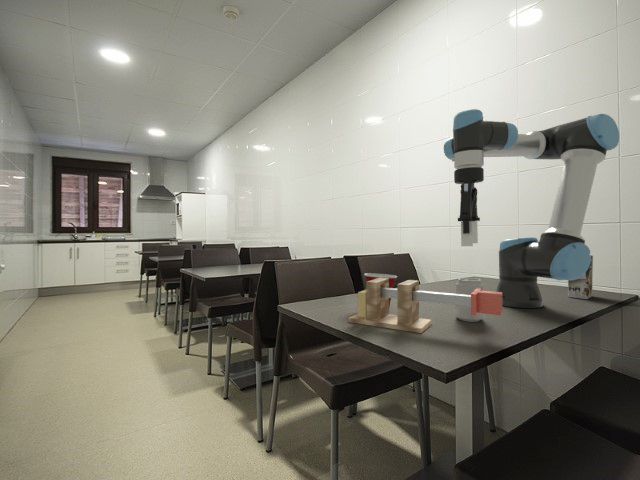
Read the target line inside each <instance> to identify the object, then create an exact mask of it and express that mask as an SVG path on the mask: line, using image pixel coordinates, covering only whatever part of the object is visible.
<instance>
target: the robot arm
mask: <svg viewBox="0 0 640 480" xmlns="http://www.w3.org/2000/svg"><path fill="white" fill-rule="evenodd" d="M452 123H453V125H452V133H453V136H451V137H450V138H448V139H446V141H445V142H444V145H443V153H444V156H445V157H446V158H447V159H449V160H450V161H451V162H453V166H454V167H453V168H454V169H455V170H454V171H453V174H454V175H453V176H454V177H453V178H454V179H453V180H454V184H456V185H460V204H459V205H460V207H459V208H460V209H459V217H457V222H460V242H461V243H460V244H461V247H473V245H474V244H478V243H479V238H478V237H479V234H478V222H480V221H481V217H479V215H478V204H477V203H478V189H477V187H475V184H478V183H483V182H484V180H485V179H484V178H485V177H484V176H485V175H484V171H485V170H484V168H483V166H484V165H485V164H484V163H485V162H484V158H501V157H502V158H508V157H509V158H510V157H512V158H513V157H520V158H521V157H524V159H528V160H562V161H563V162H564V164H563V167H562V170H561V171H562V172H561V175H560V180H559V184H558V189H557V192H556V196H555V200H554V203H553V209H552V212H551V216H550V220H549V225H548V228H547V230H545V231H544V232H542V233H541V234H540V238H539V240H538V238H537V237H521V238H520V237H519V238H510V239H509V238H508V239H503V240H502V241H500V243H499V250H498V261H499V262H498V273H499V274H498V278H499V279H498V283H497V286H496V289H495V291H494V292H503V293H502V307H512V308H517V309H519V308H521V309H539V308H542V307H543V306H544V299H543V296H542V293H541V290H540V287H539V285H538V278H544V279H553V280H557V281H568V280H576V279H578V278H579V277H581V276H583V275H584V274H585V273H586V271H587V270H588V268H589V265H590V262H591V256H592V255H591V250H590V248H589V246H588V245H586V240H585V238H584V237H583V236H582V235H581V233H582V230H583V226H584V221H585V216H586V213H587V209H588V204H589V201H590V196H591V193H592V187H593V184H594V180H595V175H596V172H597V167H598V164H601V163H602V162H603V161H604V160H605V159H606V155H607V151H612V150H614V149H615V148H617V147H618V145H619V142H620V131H619V128H618V125H617V122H616V121H615V120H614V118H613V117H611V115H609V114H606V113H599V114H594V115H589V116H587V117H584V118H581V119H576V120H574V121H570V122H567V123H566V122H565V123H563V124H562V123H561V124H559V125H556V126H552V127H549V128H547V129H542V130H534V131H529V132H528V133H519V130H518V127H517V126H516V125H515V124H513V123H510V122H506V121H494V120H487V119H484V115H483V112H482V111H481V110H480V109H478V108H477V109H476V108H474V109H472V108H471V109H465V110H461V111H459V112H458V113H456V114H455V115H454V117H453V122H452Z"/></svg>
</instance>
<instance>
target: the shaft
mask: <svg viewBox="0 0 640 480" xmlns="http://www.w3.org/2000/svg"><path fill="white" fill-rule="evenodd" d="M502 293H503V292H495V291H491V290H483V291H482V289H478V288H476V289H475V290H474V291H473V292H472V293H471V295H464V294H456V293H452V292H451V293H450V292H442V291H441V292H440V291H428V290H420V289H419V290H412V300H414V301H419V302H423V303H424V302H425V303H433V304H434V303H435V304H441V305H442V304H443V305H453V306H456V305H461V306H471V315H477V314H478V313H483V315H495V316H502V315H503V305H502ZM381 297H385V298H391V299H397V287H396V288H395V287H393V288H385V287H381Z"/></svg>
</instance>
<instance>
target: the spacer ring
mask: <svg viewBox="0 0 640 480" xmlns="http://www.w3.org/2000/svg"><path fill="white" fill-rule="evenodd" d="M357 314H358V318H362V319H366V289H363V290H361V291H358V292H357Z"/></svg>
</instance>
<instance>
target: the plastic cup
mask: <svg viewBox="0 0 640 480" xmlns="http://www.w3.org/2000/svg"><path fill="white" fill-rule="evenodd" d="M364 278H365V280H366V281H365V282H367V281H371V280H374V279H377V278H389V288H394V285H395V282H396V279H397V278H398V276H397V275H394V274H386V273H385V274H384V273H375V272H373V273H372V272H369V273H367V272H366V273H364ZM391 301H392V298H389V309H390V308H391V307H390V306H391Z"/></svg>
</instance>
